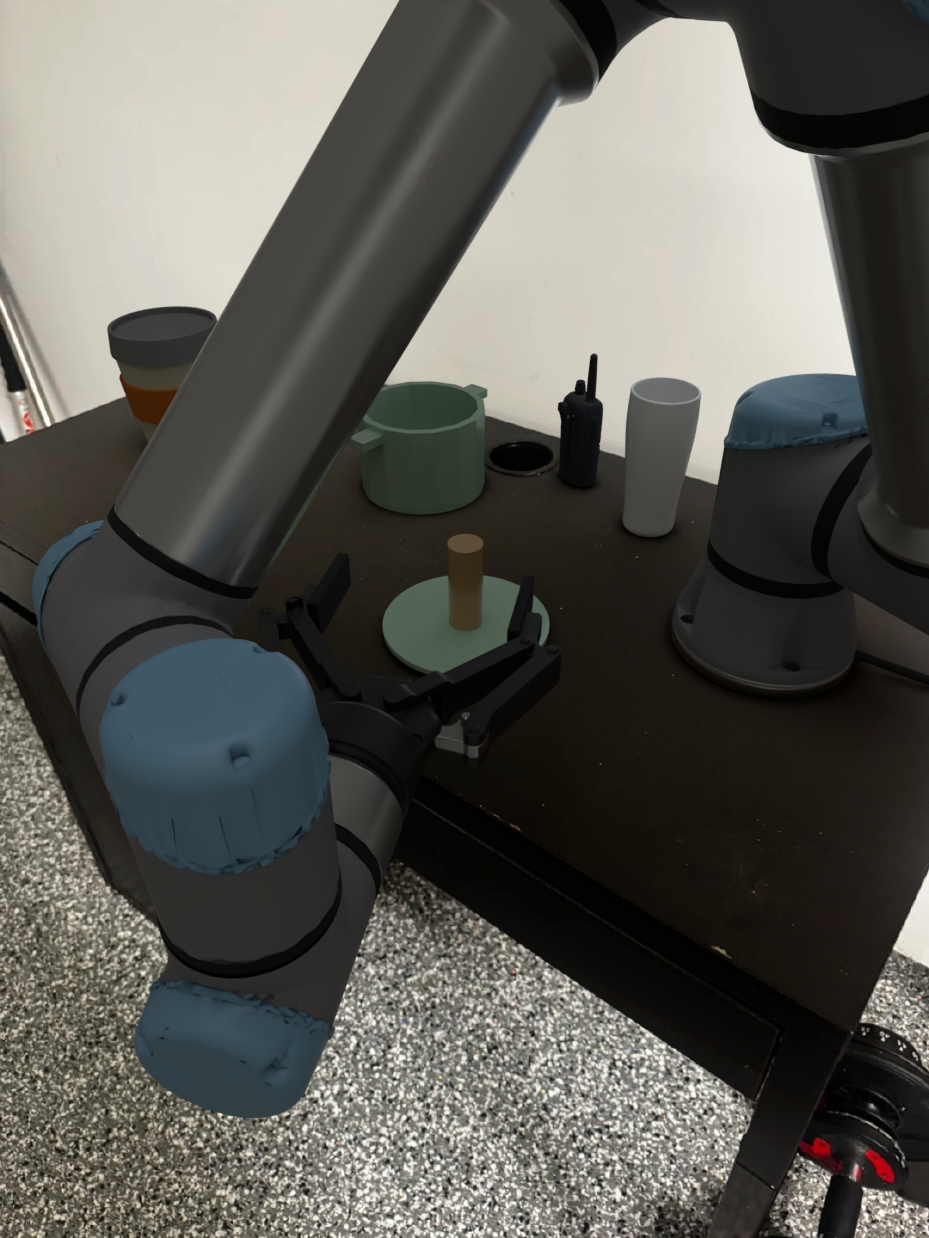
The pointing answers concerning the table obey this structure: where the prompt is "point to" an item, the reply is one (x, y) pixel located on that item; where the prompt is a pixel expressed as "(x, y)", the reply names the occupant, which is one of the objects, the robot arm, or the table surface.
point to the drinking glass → (657, 452)
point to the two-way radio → (581, 431)
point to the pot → (423, 447)
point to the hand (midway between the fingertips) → (435, 579)
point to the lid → (454, 613)
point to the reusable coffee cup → (157, 356)
